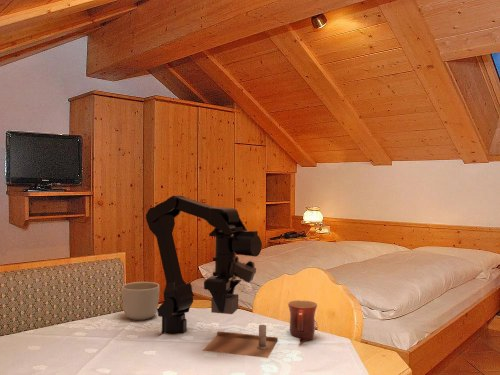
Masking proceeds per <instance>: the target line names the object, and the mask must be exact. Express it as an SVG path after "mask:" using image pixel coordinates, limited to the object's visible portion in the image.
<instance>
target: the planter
mask: <svg viewBox="0 0 500 375" xmlns="http://www.w3.org/2000/svg"><path fill="white" fill-rule="evenodd" d="M121 296H122V298H121V299H122V309H123V313H124V315H125V316H126V317H127V318H128V319H130V320H132V321H143V320H144V321H145V320H149V319H151V318H153V317H154V316H155V315H156V314H157V313H158V312H157V309H158V308H159V302H160V300H159V298H160V284H159V283H157V282H154V281H153V282H152V281H136V282H129V283H125V284H123V285H121Z"/></svg>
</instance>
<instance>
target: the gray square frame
mask: <svg viewBox="0 0 500 375" xmlns="http://www.w3.org/2000/svg"><path fill="white" fill-rule="evenodd" d="M210 299H211V304H210V307H211V310H210V311H211V312H210V313H213V314H225V315H233V314H234V313H235V312H237V310H239V294H238V293H237V294H236V293H235V294H234V293H233V294H226V299H225V306H224V311H223V312H219V310H218V308H217V305H216V303H215V301H214V299H213V297H212V296H211V298H210Z"/></svg>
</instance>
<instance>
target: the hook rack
mask: <svg viewBox="0 0 500 375" xmlns="http://www.w3.org/2000/svg"><path fill="white" fill-rule="evenodd" d="M278 341H279V340H278V337H277V336H276V337H275V336H268V335H267V325H265V324H259V325H258V335H257V334H256V335H255V334H250V333H249V334H248V333H246V334H245V333H239V332H238V333H236V332H228V331H217V332H216V336H215V337H214V338H213V339H212V340H211V341H210V342H209V343H208V344H207V345H206V346H205V347H204V348H203V349H202V351H203V352H214V353H220V354H221V353H222V354H232V355H239V356H246V357H247V356H250V357H258V358H266V359H268V358H269V357H270V355H271V353H272V351H273V350H274V349H275V346H276V345H277V343H278Z"/></svg>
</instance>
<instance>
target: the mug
mask: <svg viewBox="0 0 500 375" xmlns="http://www.w3.org/2000/svg"><path fill="white" fill-rule="evenodd" d="M287 305H288V308H289V315H290V316H289V317H290V319H289V333H290V335H291V336H292V337H294V338H297V339H299V342H308V340H309V341H311V340H312V339H314V337H315V327H316V326H315V324H316V323H315V315H316V310H317V307H318V303H316V302H314V301H312V300H305V299H304V300H302V299H299V300H291V301H289V302H288V303H287Z"/></svg>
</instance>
